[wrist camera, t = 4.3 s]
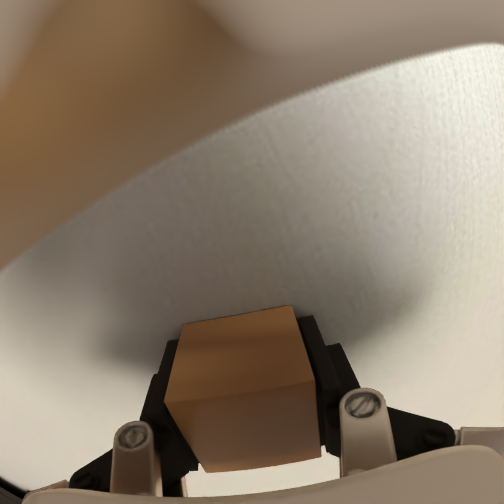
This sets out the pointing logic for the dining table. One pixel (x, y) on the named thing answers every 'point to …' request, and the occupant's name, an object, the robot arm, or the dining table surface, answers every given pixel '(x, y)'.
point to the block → (245, 392)
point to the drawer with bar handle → (8, 497)
